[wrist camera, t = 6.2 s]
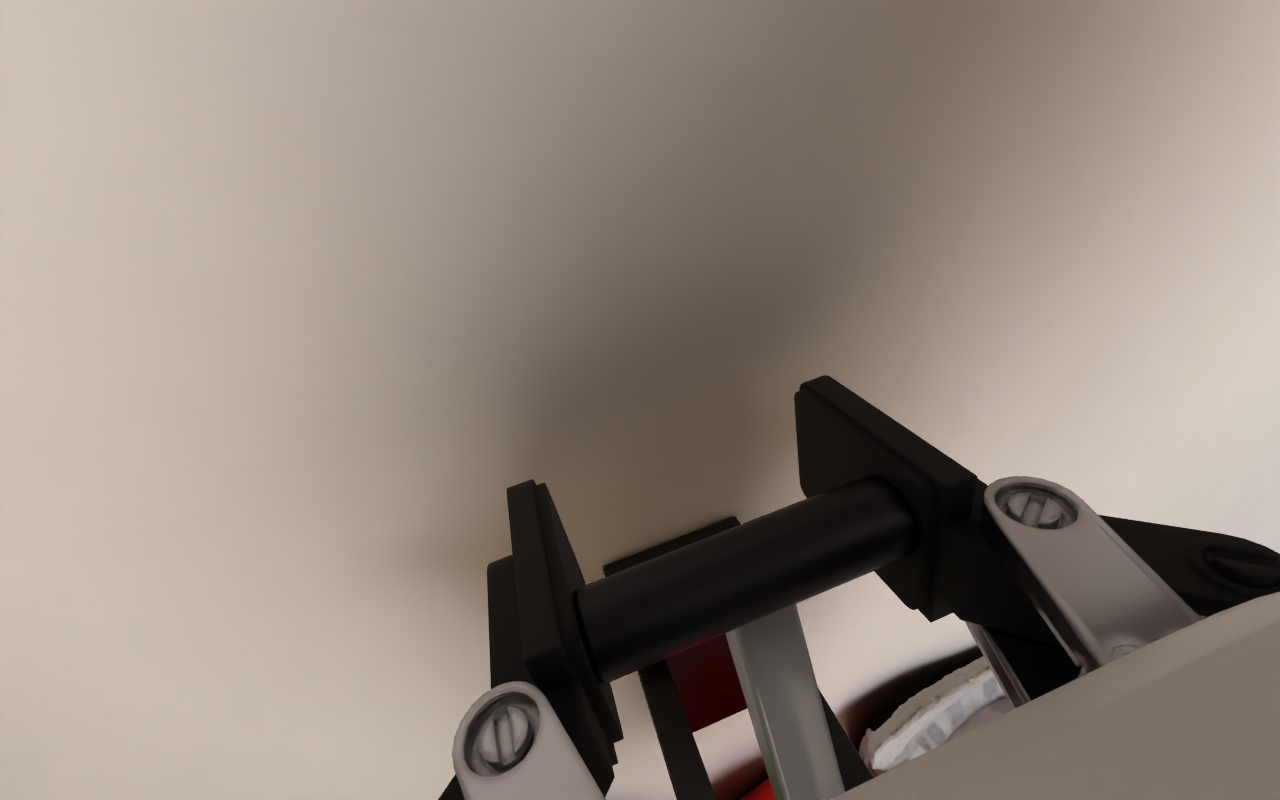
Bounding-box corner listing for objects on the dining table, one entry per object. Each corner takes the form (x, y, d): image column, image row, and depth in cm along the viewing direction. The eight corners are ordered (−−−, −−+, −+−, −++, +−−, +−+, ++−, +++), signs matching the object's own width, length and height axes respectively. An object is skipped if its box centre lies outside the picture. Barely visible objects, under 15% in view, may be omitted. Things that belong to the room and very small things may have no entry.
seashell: (1065, 638, 31) (1291, 832, 22) (894, 777, 33) (1039, 1000, 25) (995, 570, 25) (1271, 802, 16) (792, 747, 27) (938, 1029, 19)
